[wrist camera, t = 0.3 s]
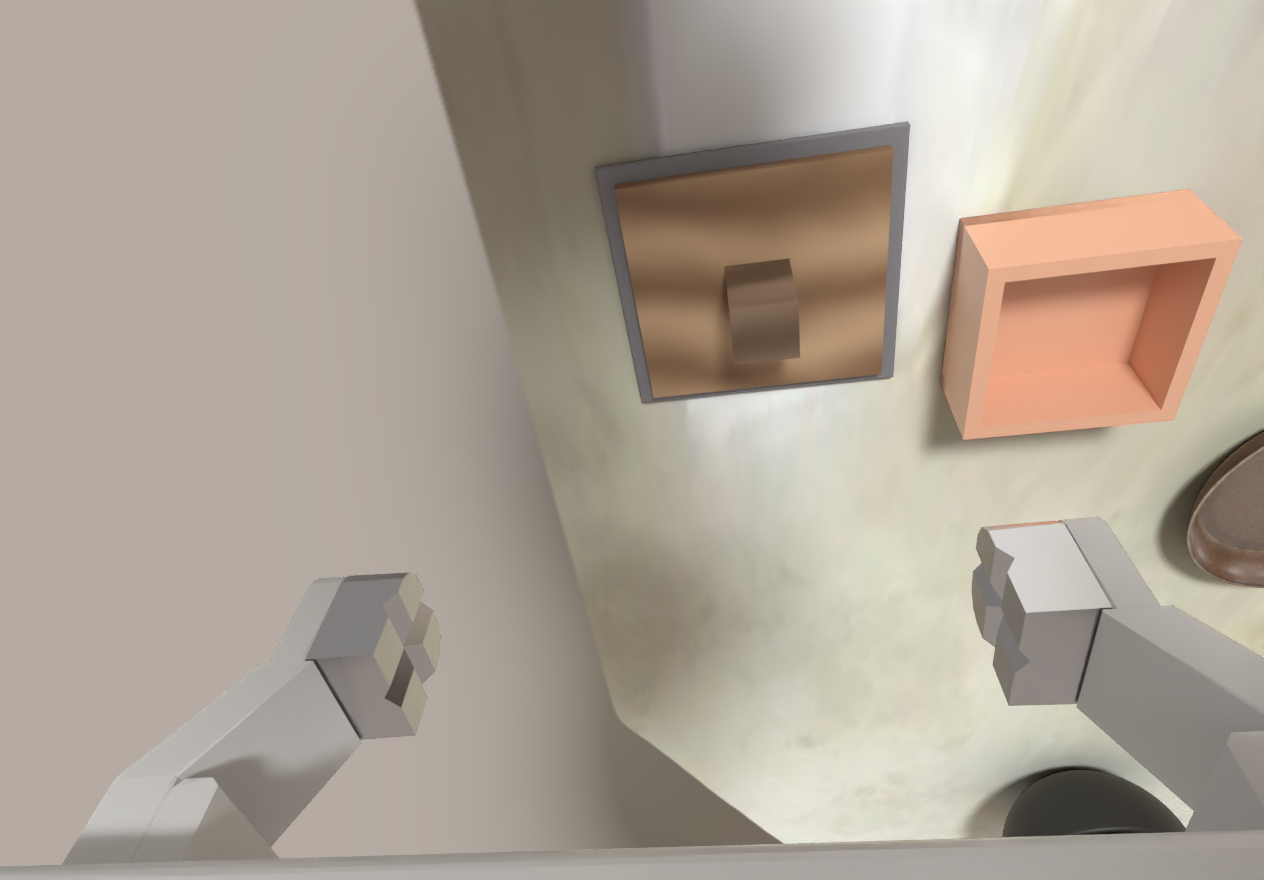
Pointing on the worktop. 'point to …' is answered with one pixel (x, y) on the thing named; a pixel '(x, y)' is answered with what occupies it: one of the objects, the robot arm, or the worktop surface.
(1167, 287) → the terracotta basin
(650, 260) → the walnut cover
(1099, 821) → the bowl of black rocks
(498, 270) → the worktop surface
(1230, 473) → the plant saucer
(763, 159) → the rubber mat
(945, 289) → the worktop surface
